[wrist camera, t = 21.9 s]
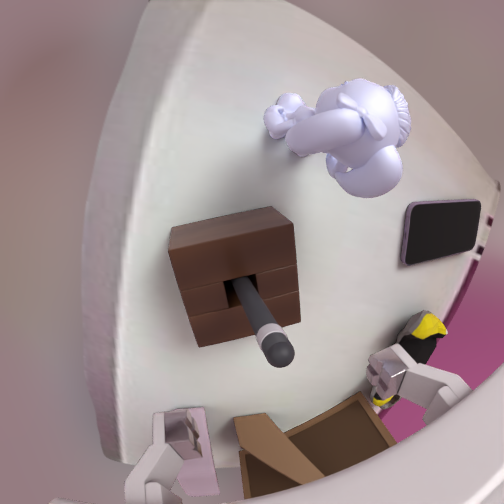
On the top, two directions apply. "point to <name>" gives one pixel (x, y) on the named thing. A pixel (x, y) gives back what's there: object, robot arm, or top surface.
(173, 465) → the robot arm
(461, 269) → the top surface
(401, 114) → the toy figurine
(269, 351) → the stylus
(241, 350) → the top surface
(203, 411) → the electronic device
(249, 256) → the pen block
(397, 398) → the wristwatch
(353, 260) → the top surface
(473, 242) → the smartphone
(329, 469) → the photo frame
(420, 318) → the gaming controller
